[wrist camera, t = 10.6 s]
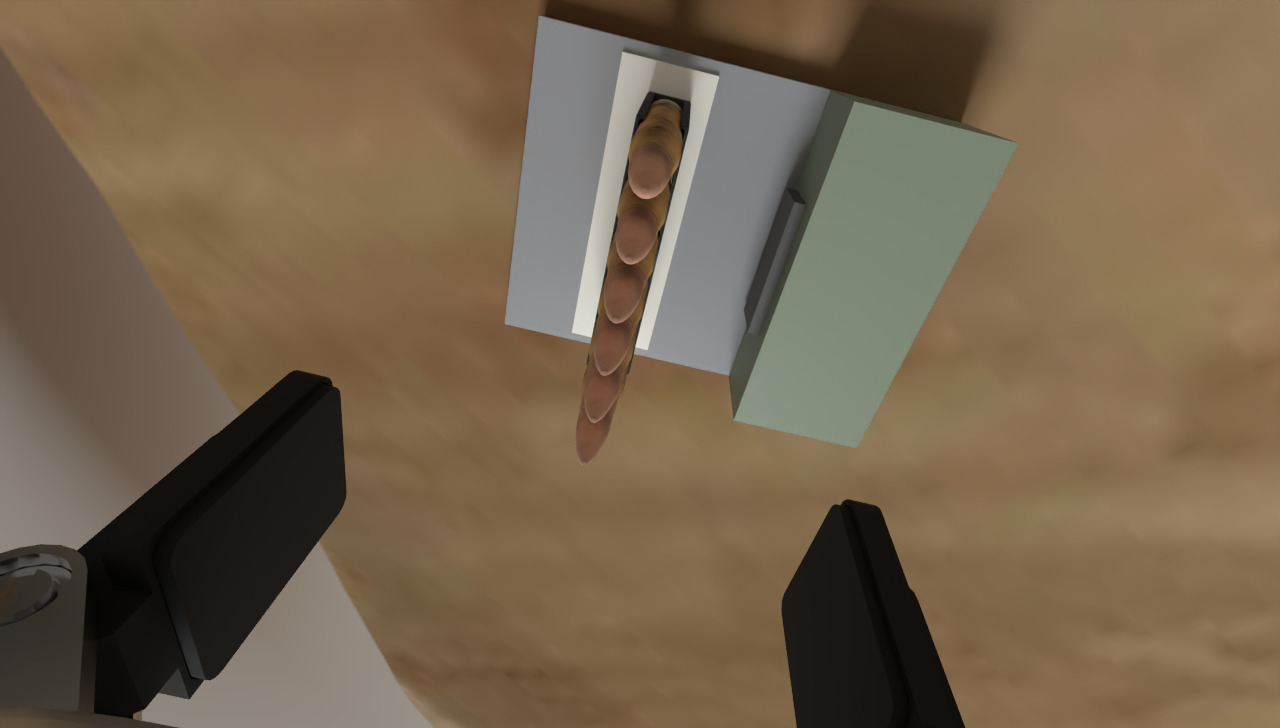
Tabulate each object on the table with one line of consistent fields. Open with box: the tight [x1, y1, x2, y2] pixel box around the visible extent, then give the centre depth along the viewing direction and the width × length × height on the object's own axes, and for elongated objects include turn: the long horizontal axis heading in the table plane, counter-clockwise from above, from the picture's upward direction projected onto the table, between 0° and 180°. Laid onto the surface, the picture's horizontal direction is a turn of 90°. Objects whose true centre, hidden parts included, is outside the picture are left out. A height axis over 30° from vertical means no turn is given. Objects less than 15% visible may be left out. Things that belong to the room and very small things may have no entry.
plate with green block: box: [505, 16, 1019, 448], centre depth 26 cm, size 18×14×5 cm
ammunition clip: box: [576, 91, 691, 465], centre depth 21 cm, size 11×2×12 cm, turn 168°
